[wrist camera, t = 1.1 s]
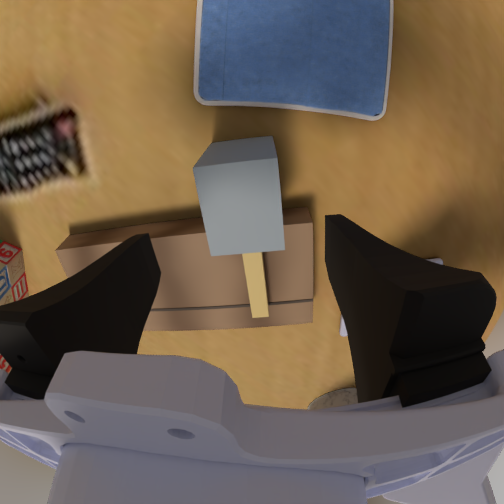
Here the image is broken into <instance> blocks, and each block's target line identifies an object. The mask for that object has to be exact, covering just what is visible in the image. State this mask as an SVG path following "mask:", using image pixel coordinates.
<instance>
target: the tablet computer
mask: <svg viewBox="0 0 504 504" xmlns="http://www.w3.org/2000/svg"><path fill="white" fill-rule="evenodd" d="M392 36H393V0H197V12H196V29H195V53H194V96H195V98H196V100H197V101H198V102H199V103H201V104H203V105H207V106H253V107H270V108H281V109H292V110H302V111H311V112H319V113H327V114H334V115H341V116H347V117H353V118H358V119H364V120H370V121H375V120H379V119H380V118H382V117H383V116H384V114H385V112H386V106H387V98H388V89H389V79H390V68H391V54H392Z"/></svg>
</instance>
